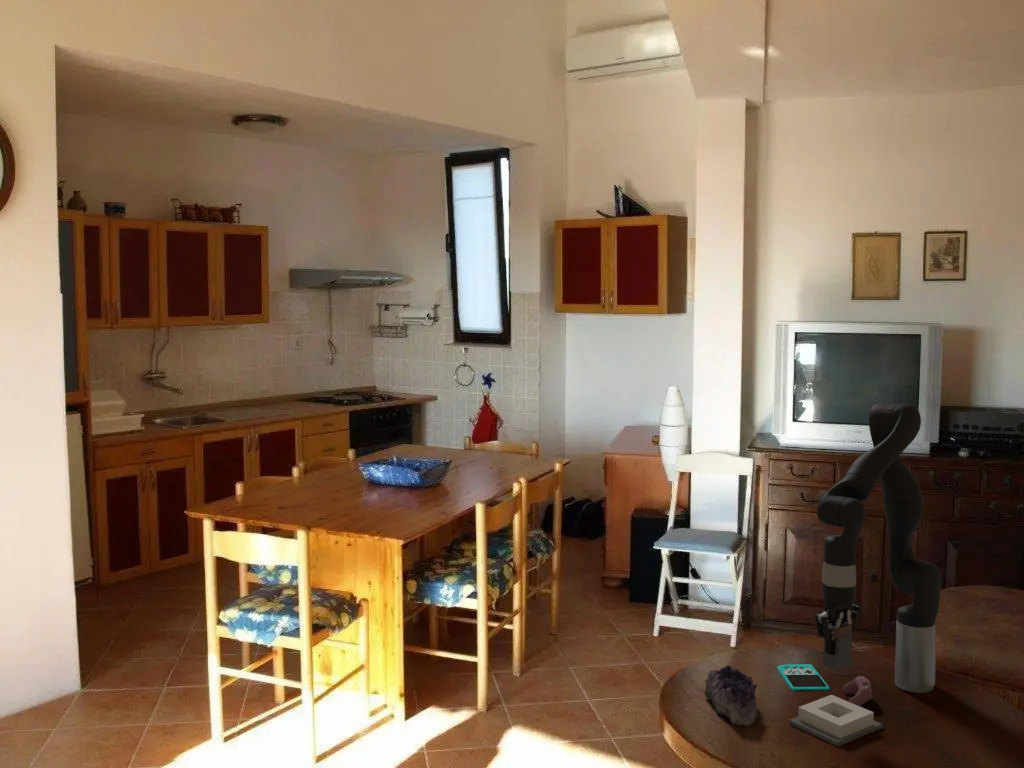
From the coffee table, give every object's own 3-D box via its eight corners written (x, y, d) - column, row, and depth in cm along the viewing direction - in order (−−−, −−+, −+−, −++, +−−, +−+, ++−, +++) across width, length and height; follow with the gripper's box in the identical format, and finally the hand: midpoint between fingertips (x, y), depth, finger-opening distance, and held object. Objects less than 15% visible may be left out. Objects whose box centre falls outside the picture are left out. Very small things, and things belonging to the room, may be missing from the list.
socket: (833, 706, 241) (833, 691, 241) (882, 728, 230) (882, 711, 229) (789, 723, 233) (789, 707, 232) (838, 746, 221) (838, 729, 220)
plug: (835, 660, 233) (836, 619, 232) (850, 666, 229) (852, 624, 228) (823, 664, 230) (824, 623, 229) (838, 670, 227) (839, 628, 225)
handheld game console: (812, 668, 267) (812, 663, 267) (831, 692, 251) (831, 687, 251) (775, 668, 267) (775, 663, 267) (792, 693, 251) (792, 688, 251)
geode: (775, 727, 231) (771, 687, 230) (728, 736, 230) (723, 697, 229) (745, 688, 251) (741, 652, 250) (702, 696, 250) (697, 660, 249)
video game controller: (863, 715, 240) (878, 692, 239) (846, 706, 240) (860, 683, 239) (857, 698, 250) (870, 675, 248) (840, 690, 250) (854, 667, 249)
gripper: (845, 571, 234) (843, 640, 236) (805, 582, 227) (804, 653, 228) (872, 579, 228) (870, 650, 230) (832, 590, 220) (830, 664, 222)
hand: (837, 651), depth 229 cm, fingers closed on plug, 4 cm apart
